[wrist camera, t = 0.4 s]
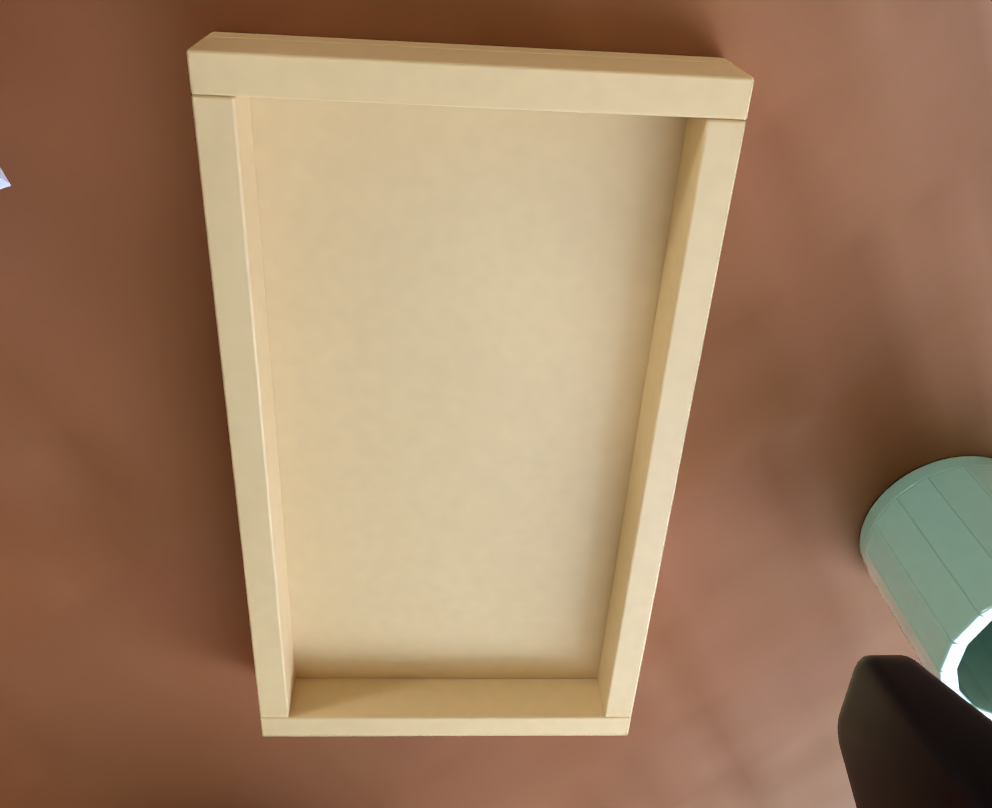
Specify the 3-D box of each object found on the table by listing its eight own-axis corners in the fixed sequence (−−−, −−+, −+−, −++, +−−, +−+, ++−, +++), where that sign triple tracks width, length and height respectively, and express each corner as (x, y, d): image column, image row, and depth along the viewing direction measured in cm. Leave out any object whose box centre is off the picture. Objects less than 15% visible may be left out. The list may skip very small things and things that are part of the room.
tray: (616, 680, 29) (627, 736, 27) (273, 680, 28) (261, 737, 26) (726, 57, 19) (755, 77, 17) (210, 30, 18) (185, 49, 17)
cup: (998, 591, 27) (1100, 727, 23) (840, 590, 27) (914, 727, 23) (1058, 456, 25) (1186, 580, 21) (885, 452, 25) (978, 579, 20)
